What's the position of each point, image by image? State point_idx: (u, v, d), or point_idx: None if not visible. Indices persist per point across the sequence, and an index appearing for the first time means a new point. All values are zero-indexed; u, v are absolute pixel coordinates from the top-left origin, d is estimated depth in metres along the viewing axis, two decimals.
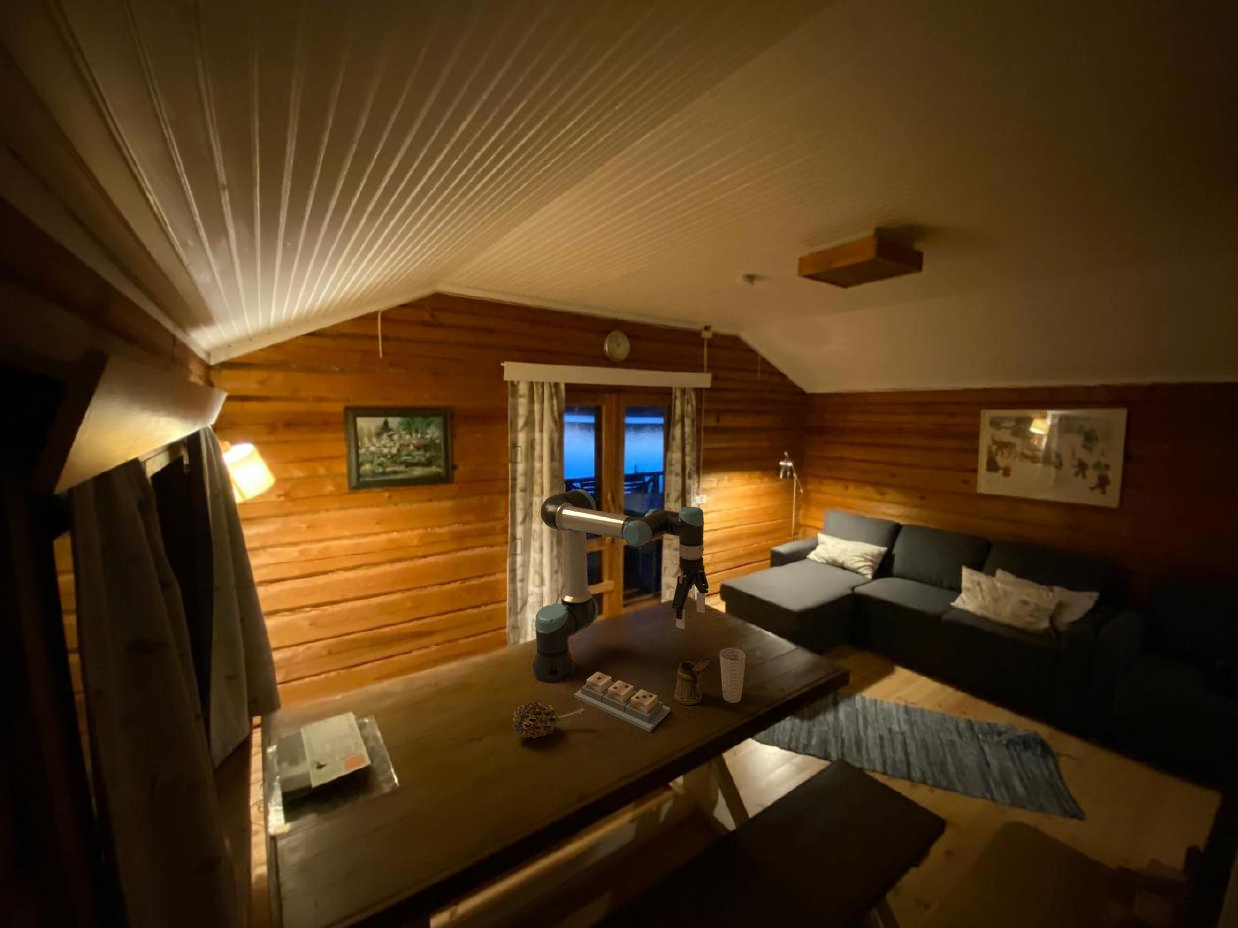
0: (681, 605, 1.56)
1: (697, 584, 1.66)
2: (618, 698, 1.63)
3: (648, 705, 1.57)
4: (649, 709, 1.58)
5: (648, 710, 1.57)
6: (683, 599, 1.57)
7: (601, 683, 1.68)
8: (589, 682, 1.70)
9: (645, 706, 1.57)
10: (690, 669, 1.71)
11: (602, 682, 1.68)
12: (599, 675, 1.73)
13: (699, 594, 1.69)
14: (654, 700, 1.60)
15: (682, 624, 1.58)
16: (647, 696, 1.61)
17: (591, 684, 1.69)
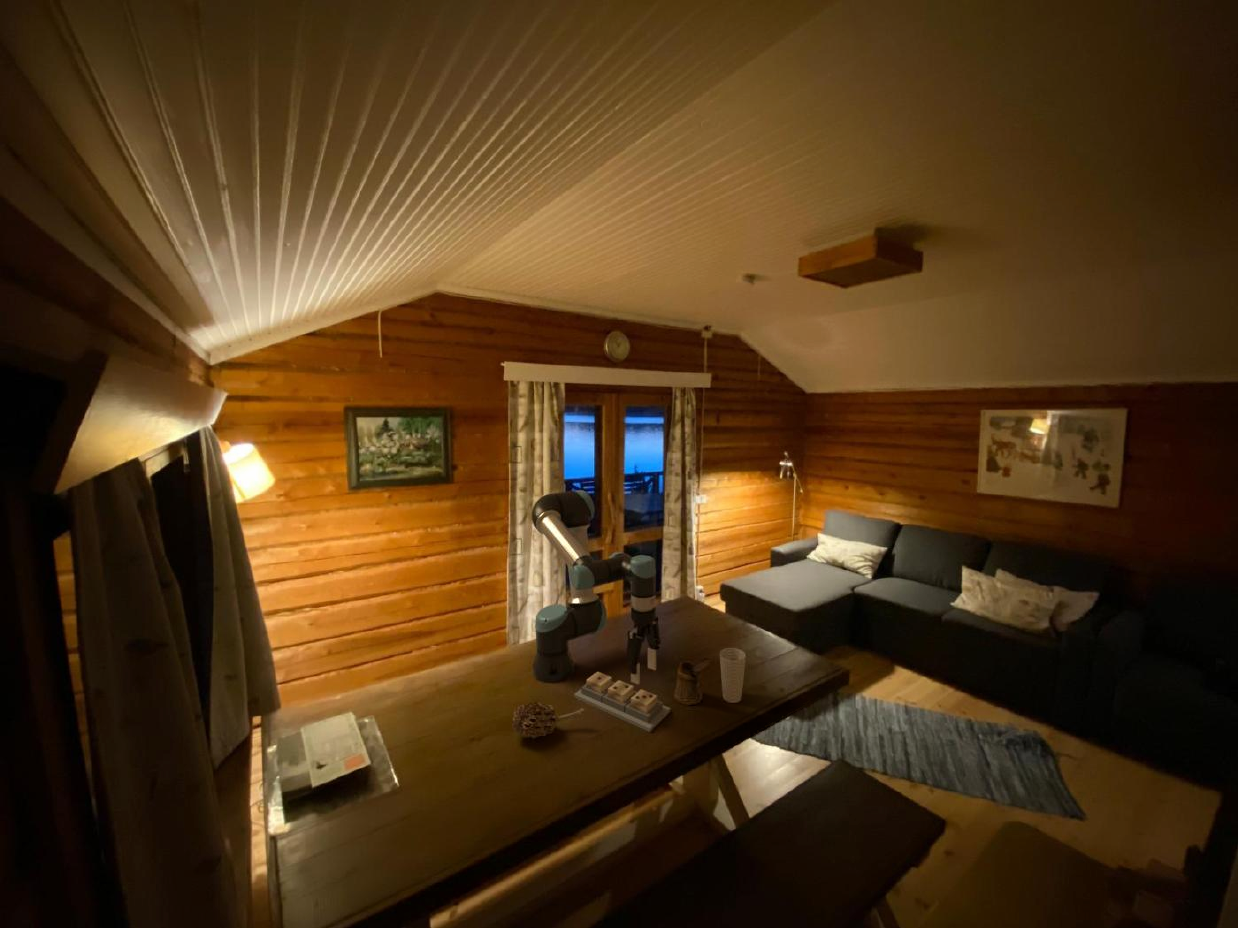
0: (635, 661, 1.53)
1: (649, 637, 1.60)
2: (618, 698, 1.63)
3: (648, 705, 1.57)
4: (649, 709, 1.58)
5: (648, 710, 1.57)
6: (636, 654, 1.53)
7: (601, 683, 1.68)
8: (589, 682, 1.70)
9: (645, 706, 1.57)
10: (690, 669, 1.71)
11: (602, 682, 1.68)
12: (599, 675, 1.73)
13: (650, 650, 1.62)
14: (654, 700, 1.60)
15: (637, 679, 1.54)
16: (647, 696, 1.61)
17: (591, 684, 1.69)
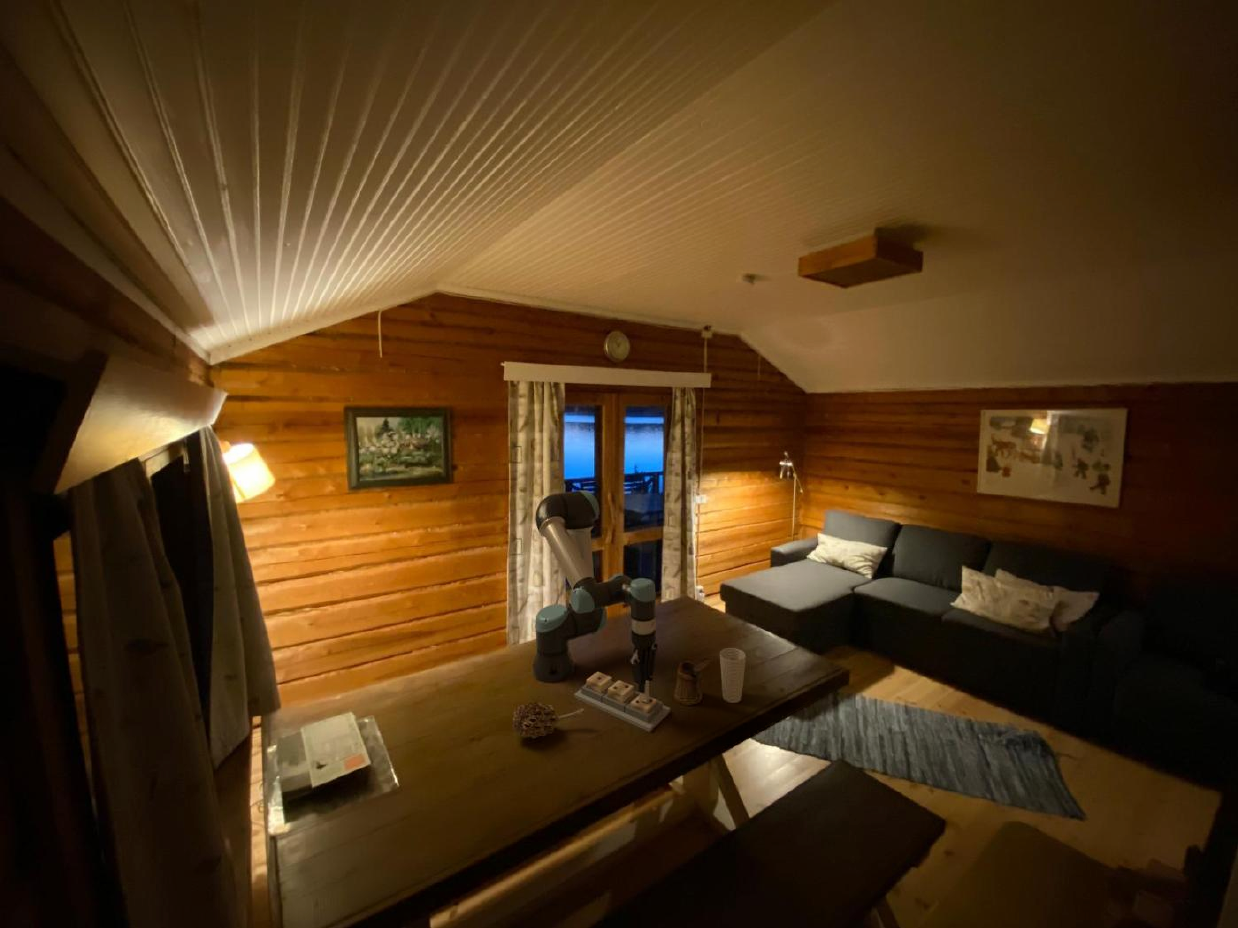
0: (643, 681, 1.57)
1: None
2: (618, 698, 1.63)
3: (648, 709, 1.57)
4: None
5: None
6: (643, 675, 1.57)
7: (601, 683, 1.68)
8: (589, 682, 1.70)
9: (645, 710, 1.57)
10: (690, 669, 1.71)
11: (602, 682, 1.68)
12: (599, 675, 1.73)
13: None
14: (654, 704, 1.60)
15: (645, 698, 1.59)
16: None
17: (591, 684, 1.69)
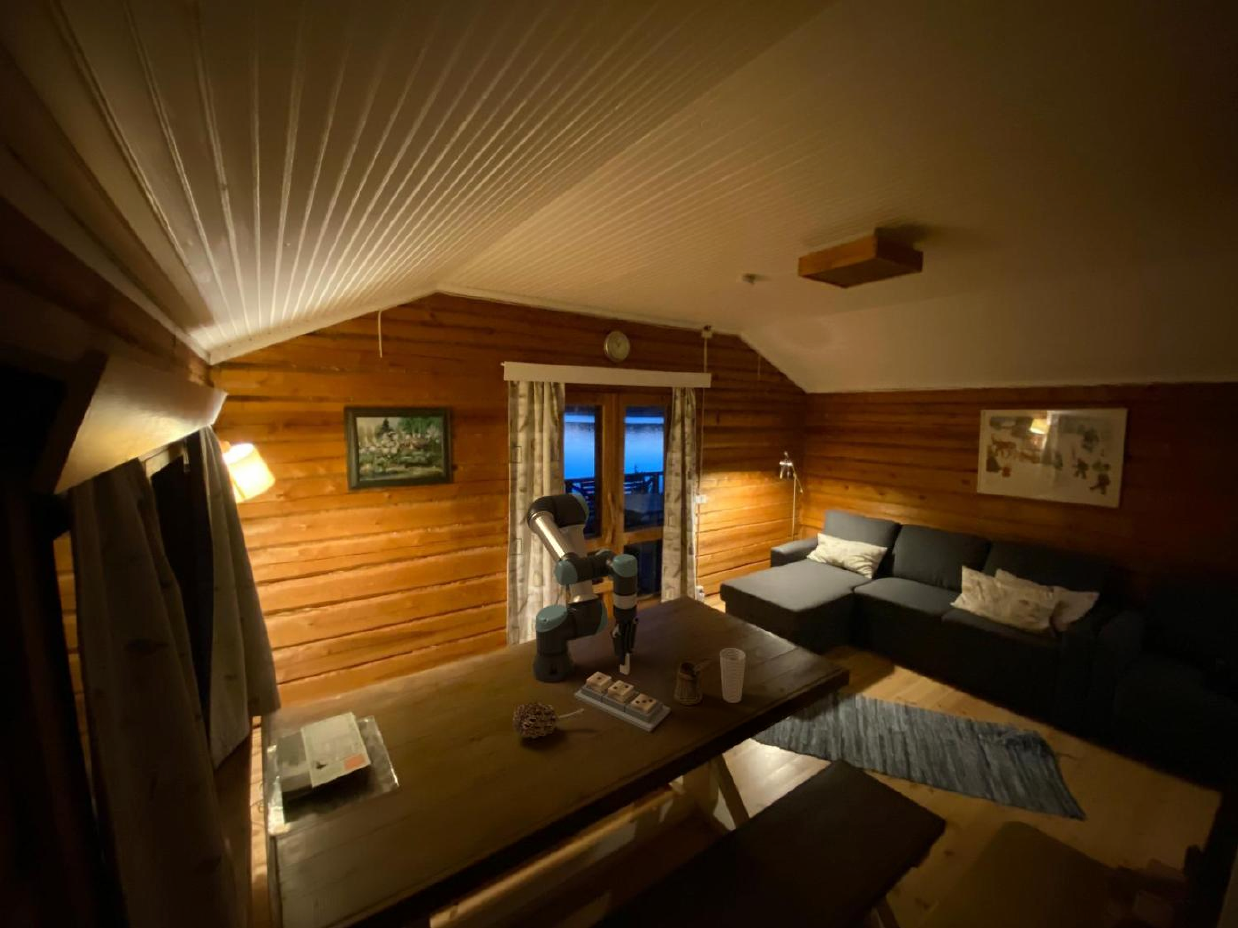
0: (623, 654, 1.61)
1: None
2: (618, 698, 1.63)
3: (648, 710, 1.57)
4: None
5: None
6: (623, 648, 1.61)
7: (601, 683, 1.68)
8: (589, 682, 1.70)
9: (645, 711, 1.57)
10: (690, 669, 1.71)
11: (602, 682, 1.68)
12: (599, 675, 1.73)
13: None
14: (654, 704, 1.60)
15: (625, 670, 1.63)
16: (647, 700, 1.61)
17: (591, 684, 1.69)
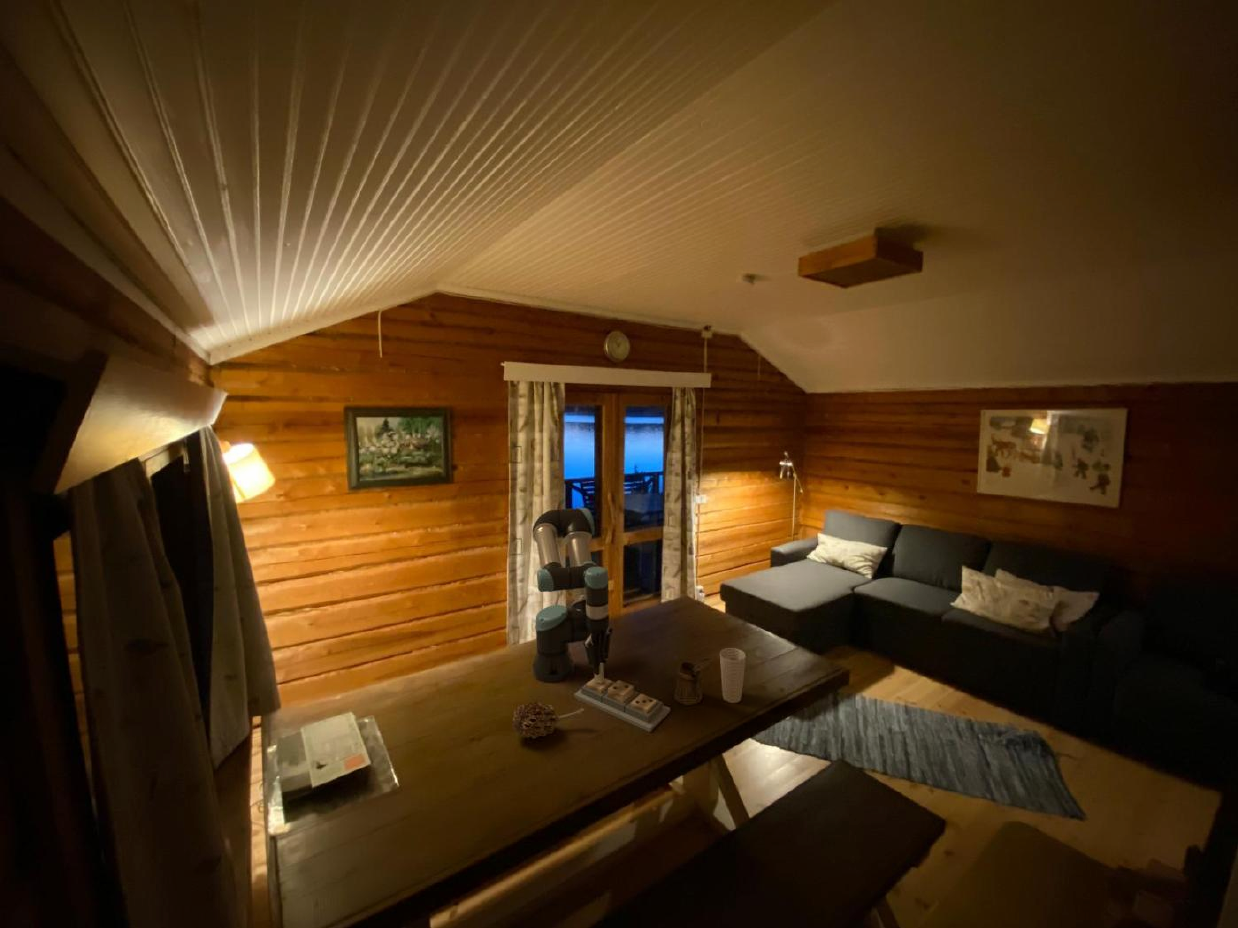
0: (597, 663, 1.68)
1: (599, 647, 1.70)
2: (618, 698, 1.63)
3: (648, 710, 1.57)
4: None
5: None
6: (597, 657, 1.67)
7: (601, 687, 1.68)
8: (589, 686, 1.70)
9: (645, 711, 1.57)
10: (690, 669, 1.71)
11: (602, 686, 1.68)
12: None
13: None
14: (654, 704, 1.60)
15: (599, 679, 1.70)
16: (647, 700, 1.61)
17: (591, 688, 1.69)
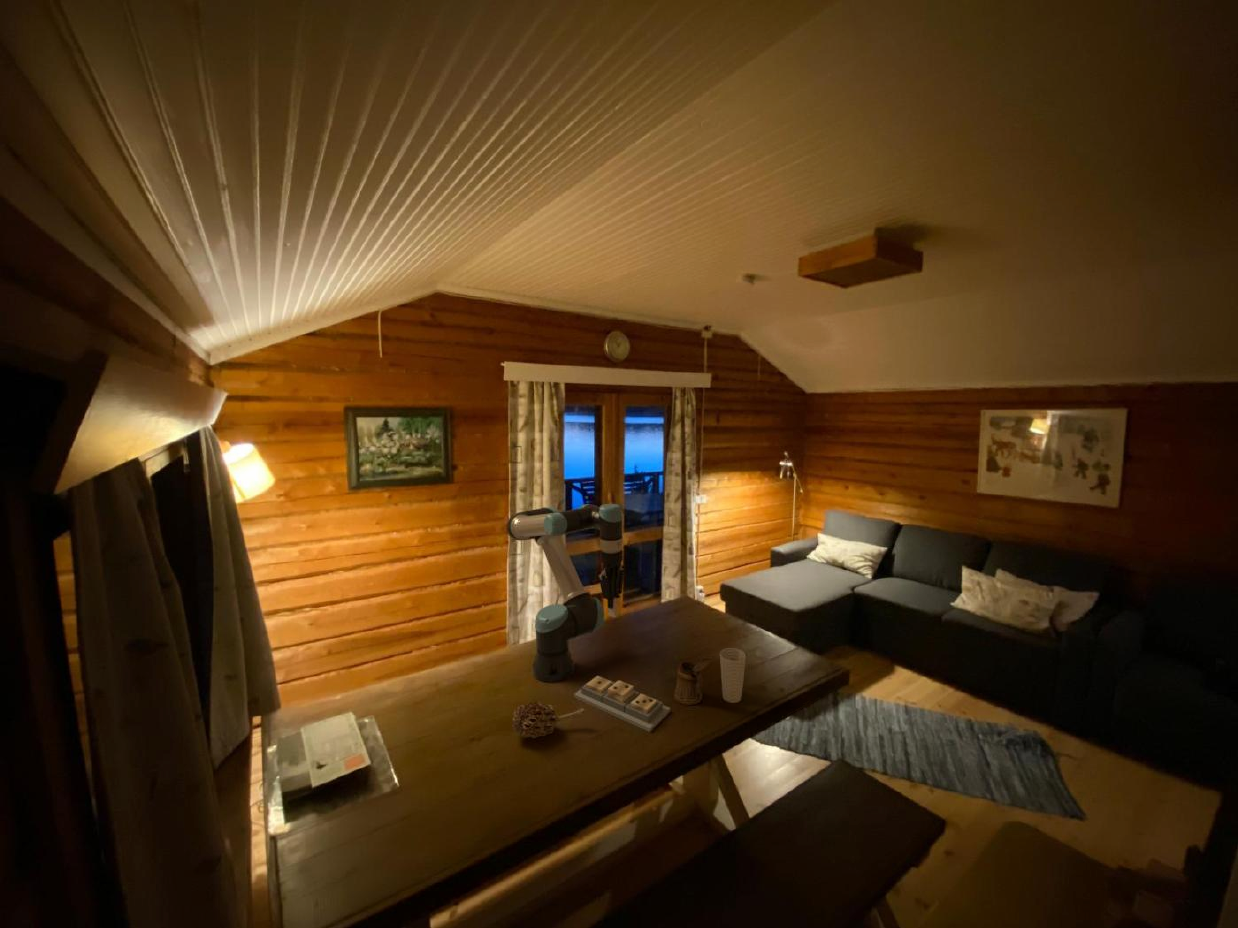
0: (611, 597, 1.73)
1: None
2: (618, 698, 1.63)
3: (648, 710, 1.57)
4: None
5: None
6: (611, 591, 1.73)
7: (601, 687, 1.68)
8: (589, 686, 1.70)
9: (645, 711, 1.57)
10: (690, 669, 1.71)
11: (602, 687, 1.68)
12: (599, 679, 1.73)
13: None
14: (654, 704, 1.60)
15: (613, 613, 1.75)
16: (647, 700, 1.61)
17: (591, 688, 1.69)
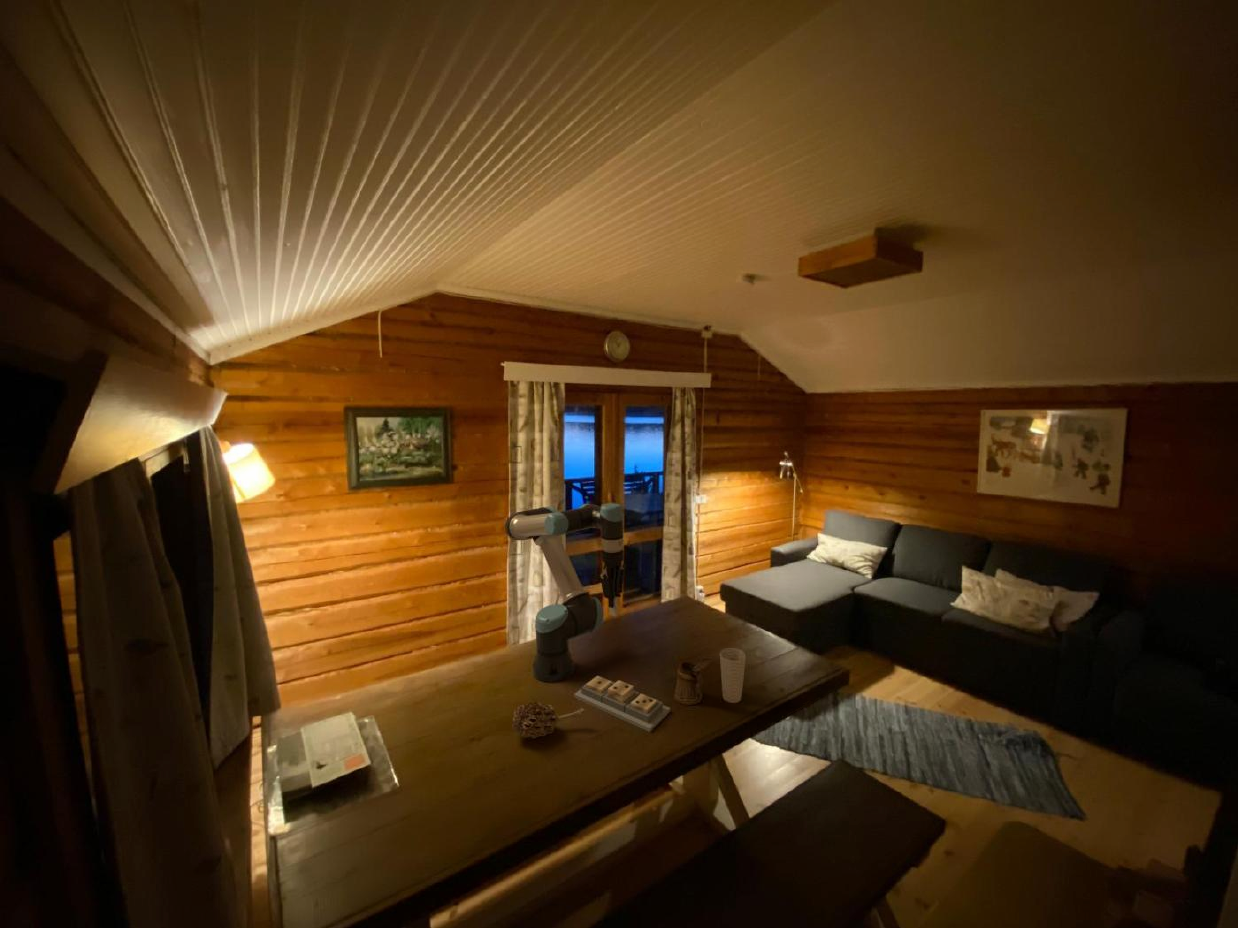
0: (612, 596, 1.73)
1: None
2: (618, 698, 1.63)
3: (648, 710, 1.57)
4: None
5: None
6: (612, 591, 1.73)
7: (601, 687, 1.68)
8: (589, 686, 1.70)
9: (645, 711, 1.57)
10: (690, 669, 1.71)
11: (602, 687, 1.68)
12: (599, 679, 1.73)
13: None
14: (654, 704, 1.60)
15: (614, 612, 1.75)
16: (647, 700, 1.61)
17: (591, 688, 1.69)
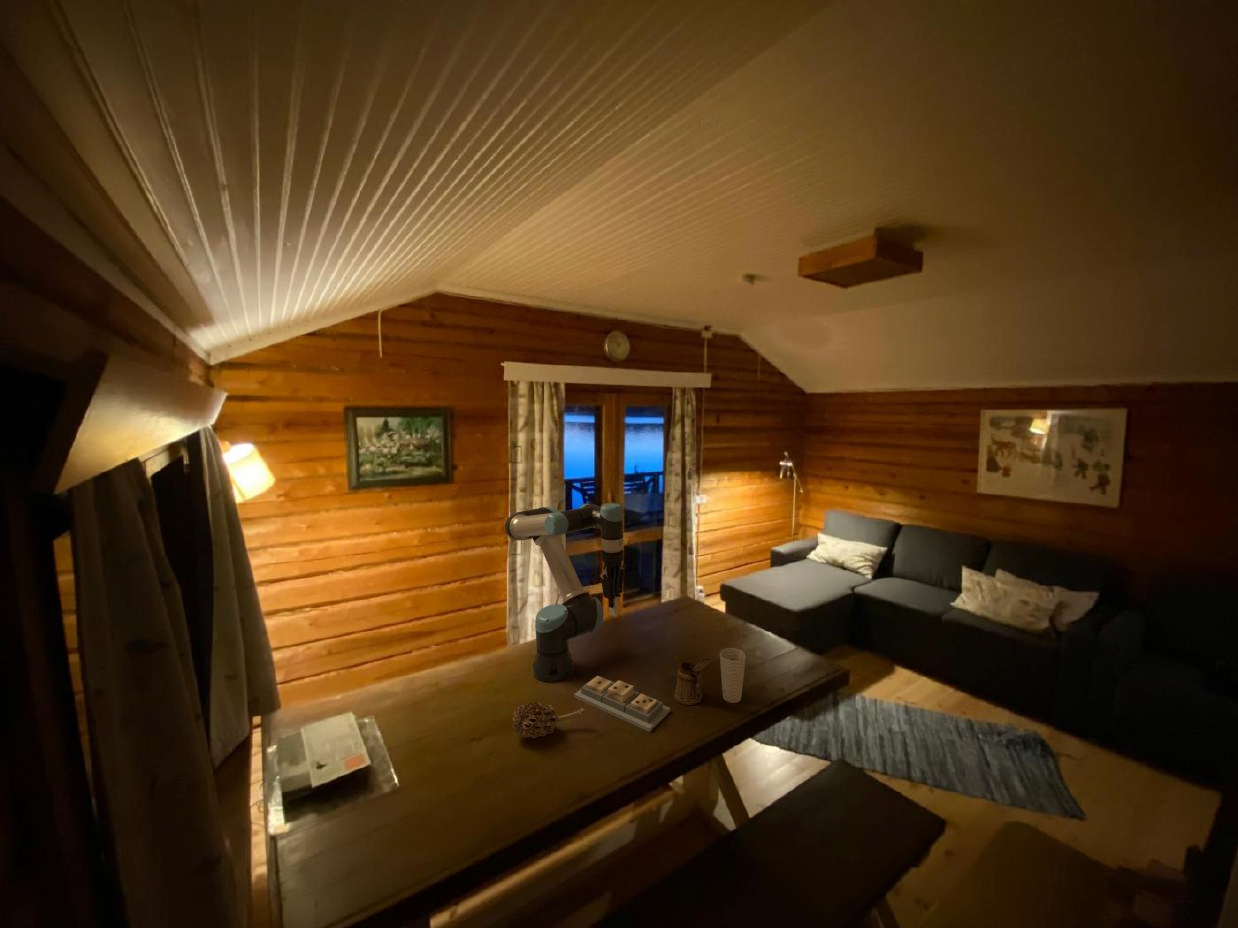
0: (612, 596, 1.73)
1: None
2: (618, 698, 1.63)
3: (648, 710, 1.57)
4: None
5: None
6: (612, 591, 1.73)
7: (601, 687, 1.68)
8: (589, 686, 1.70)
9: (645, 711, 1.57)
10: (690, 669, 1.71)
11: (602, 687, 1.68)
12: (599, 679, 1.73)
13: None
14: (654, 704, 1.60)
15: (614, 612, 1.75)
16: (647, 700, 1.61)
17: (591, 688, 1.69)
